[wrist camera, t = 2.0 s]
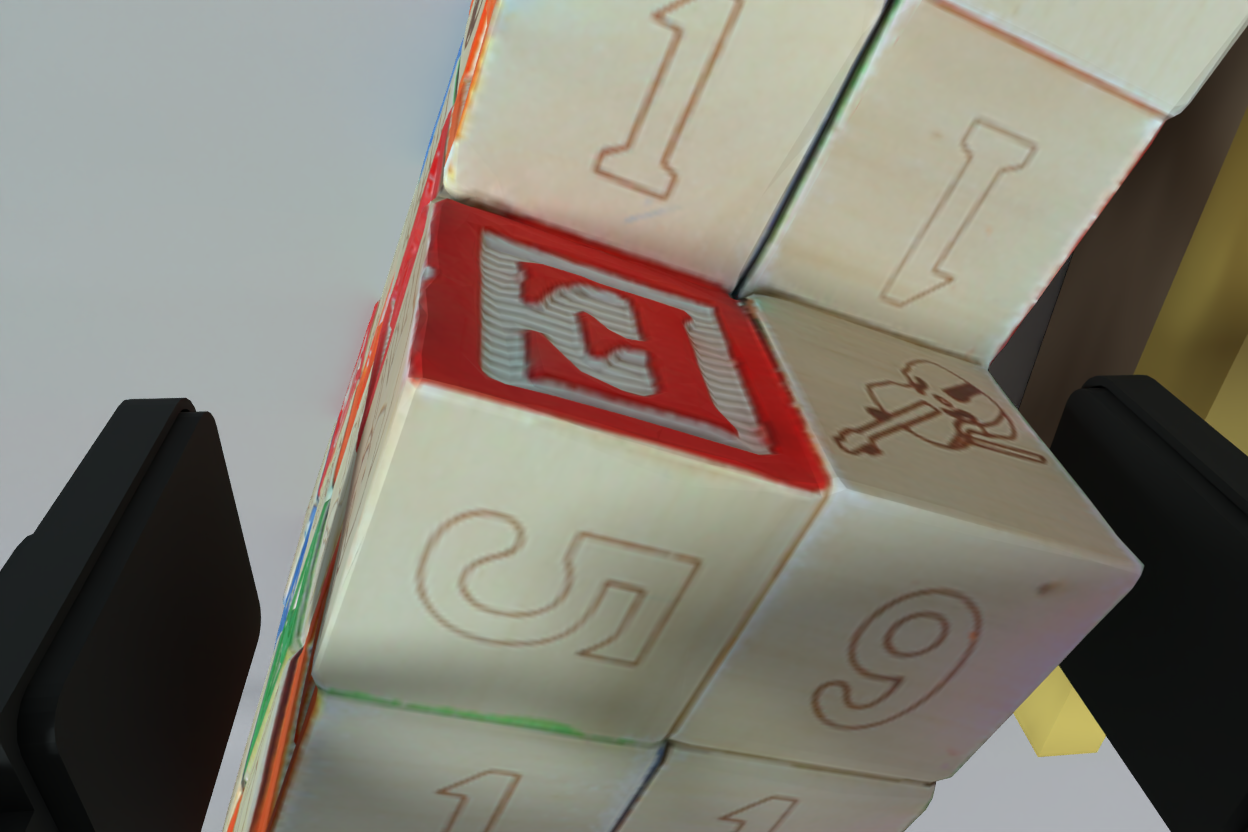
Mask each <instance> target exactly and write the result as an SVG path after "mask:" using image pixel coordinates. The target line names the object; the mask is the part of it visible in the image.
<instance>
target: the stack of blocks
mask: <svg viewBox="0 0 1248 832" xmlns="http://www.w3.org/2000/svg"><path fill="white" fill-rule="evenodd" d="M1247 26H1248V0H472V2H471V7H470V11H469V18H468V21H467V25H466V30H465V34H464V38H463V41H462V44H461V47H460V50H459V53H458V56H457V59H456V62H455V65H454V68H453V72H452V75H451V78H450V81H449V84H448V88H447V91H446V94H445V97H444V100H443V103H442V106H441V109H440V112H439V115H438V118H437V121H436V124H435V127H434V130H433V133H432V136H431V139H430V143H429V146H428V149H427V152H426V156H425V159H424V163H423V167H422V170H421V174H420V177H419V180H418V183H417V187H416V190H415V193H414V196H413V199H412V202H411V205H410V208H409V211H408V215H407V218H406V221H405V224H404V227H403V230H402V233H401V236H400V239H399V243H398V246H397V249H396V252H395V255H394V258H393V261H392V264H391V268H390V271H389V274H388V277H387V280H386V283H385V286H384V290H383V293H382V297H381V299H380V300H379V301H378V302H377V303H376V305H375V307H374V310H373V314H372V317H371V319H370V322H369V325H368V328H367V331H366V334H365V337H364V340H363V344H362V347H361V350H360V353H359V356H358V359H357V362H356V365H355V368H354V371H353V374H352V377H351V380H350V384H349V387H348V390H347V393H346V396H345V399H344V402H343V405H342V409H341V412H340V414H339V417H338V419H337V421H336V423H335V425H334V428H333V431H332V434H331V437H330V440H329V443H328V446H327V449H326V453H325V456H324V459H323V462H322V465H321V468H320V471H319V474H318V477H317V480H316V483H315V487H314V490H313V493H312V496H311V499H310V502H309V505H308V508H307V512H306V515H305V519H304V523H303V527H302V531H301V534H300V538H299V542H298V546H297V549H296V553H295V556H294V560H293V563H292V567H291V570H290V574H289V578H288V581H287V585H286V588H285V592H284V596H283V604H284V605H285V607H284V610H283V614H282V618H281V622H280V626H279V630H278V634H277V639H276V643H275V648H274V652H273V656H272V660H271V663H270V666H269V670H268V673H267V676H266V680H265V683H264V686H263V690H262V693H261V697H260V700H259V703H258V707H257V710H256V713H255V717H254V720H253V723H252V727H251V730H250V733H249V736H248V739H247V743H246V747H245V750H244V754H243V757H242V761H241V764H240V768H239V771H238V775H237V779H236V782H235V786H234V789H233V793H232V796H231V800H230V803H229V807H228V811H227V815H226V819H225V823H224V827H223V830H222V832H904V831H905V830H906V829H907V828H908V827H909V826H910V825H911V824H912V823H913V822H914V821H915V820H916V819H917V818H918V817H919V816H920V815H921V814H922V813H923V812H924V811H925V810H926V808H927V807H928V805H929V803H930V802H931V800H932V798H933V794H934V790H935V785H936V781H939V780H943V779H947V778H951V777H952V776H953V775H954V774H955V773H956V772H957V771H958V770H959V769H960V768H961V767H962V766H963V765H964V764H965V763H966V762H967V761H968V759H969V758H970V757H971V756H972V755H973V754H974V753H975V752H976V751H977V750H978V749H979V748H980V747H981V746H982V745H983V744H984V743H985V742H986V741H987V740H988V739H989V738H990V737H991V736H992V735H993V733H994V732H995V731H996V730H997V729H998V728H999V727H1000V726H1001V725H1002V724H1003V723H1004V722H1005V721H1006V720H1007V719H1008V718H1009V717H1010V716H1011V715H1012V714H1013V712H1014V711H1015V710H1016V709H1017V708H1018V707H1019V706H1020V705H1021V704H1022V703H1023V702H1024V701H1025V700H1026V699H1027V698H1028V697H1029V696H1030V695H1031V693H1032V692H1033V691H1034V690H1035V689H1036V688H1037V687H1038V686H1039V685H1040V684H1041V683H1042V682H1043V681H1044V680H1045V679H1046V678H1047V677H1048V676H1049V675H1050V673H1051V672H1052V671H1053V670H1054V669H1055V668H1056V667H1057V666H1058V665H1059V664H1060V663H1061V662H1062V661H1063V660H1064V659H1065V658H1066V657H1067V656H1068V654H1069V653H1070V652H1071V651H1072V650H1073V649H1074V648H1075V647H1076V646H1077V645H1078V644H1079V643H1080V642H1081V641H1082V640H1083V639H1084V637H1085V636H1086V635H1087V634H1088V633H1089V632H1090V631H1091V630H1092V629H1093V628H1094V627H1095V626H1096V625H1097V624H1098V623H1099V622H1100V621H1101V620H1102V619H1103V618H1104V617H1105V616H1106V615H1107V614H1108V613H1109V612H1110V611H1111V610H1112V609H1113V608H1114V607H1115V606H1116V605H1117V604H1118V603H1119V602H1120V601H1121V600H1122V599H1123V598H1124V597H1125V596H1126V594H1127V593H1128V592H1129V591H1130V590H1131V589H1132V588H1133V587H1134V585H1135V584H1136V582H1137V581H1138V579H1139V578H1140V576H1141V574H1142V571H1143V568H1144V564H1143V563H1142V562H1141V561H1140V560H1139V559H1138V558H1137V557H1136V556H1135V555H1134V554H1133V553H1132V551H1131V550H1130V549H1129V548H1128V547H1127V546H1126V545H1125V544H1124V543H1123V542H1122V541H1121V540H1120V539H1119V537H1118V536H1117V535H1116V534H1115V532H1114V531H1113V530H1112V528H1111V527H1110V526H1109V525H1108V523H1107V522H1106V521H1105V519H1104V518H1103V517H1102V515H1101V514H1100V513H1099V511H1098V510H1097V509H1096V507H1095V506H1094V505H1093V504H1092V502H1091V501H1090V500H1089V498H1088V497H1087V496H1086V494H1085V493H1084V492H1083V491H1082V489H1081V488H1080V487H1079V486H1078V484H1077V483H1076V482H1075V481H1074V479H1073V478H1072V477H1071V476H1070V474H1069V473H1068V472H1067V471H1066V469H1065V468H1064V467H1063V466H1062V464H1061V463H1060V462H1059V461H1058V459H1057V458H1056V457H1055V456H1054V455H1053V453H1052V452H1051V451H1050V450H1049V448H1048V447H1047V446H1046V445H1045V443H1044V442H1043V441H1042V440H1041V438H1040V437H1039V436H1038V435H1037V433H1036V432H1035V431H1034V430H1033V428H1032V427H1031V426H1030V425H1029V423H1028V422H1027V421H1026V420H1025V418H1024V417H1023V416H1022V415H1021V413H1020V412H1019V411H1018V410H1017V408H1016V407H1015V406H1014V405H1013V403H1012V402H1011V401H1010V399H1009V398H1008V397H1007V396H1006V394H1005V393H1004V392H1003V390H1002V389H1001V388H1000V386H999V385H998V384H997V382H996V381H995V380H994V378H993V377H992V376H991V374H990V373H989V372H988V368H989V366H990V365H991V363H992V362H993V360H994V359H995V357H996V356H997V355H998V354H999V353H1000V351H1001V350H1002V349H1003V348H1004V347H1005V345H1006V344H1007V343H1008V341H1009V340H1010V338H1011V337H1012V335H1013V334H1014V332H1015V331H1016V330H1017V328H1018V327H1019V325H1020V324H1021V323H1022V321H1023V320H1024V319H1025V317H1026V316H1027V314H1028V313H1029V312H1030V310H1031V309H1032V308H1033V306H1034V305H1035V303H1036V302H1037V301H1038V299H1039V298H1040V296H1041V295H1042V294H1043V292H1044V291H1045V289H1046V288H1047V287H1048V285H1049V284H1050V283H1051V281H1052V280H1053V278H1054V277H1055V276H1056V274H1057V273H1058V272H1059V270H1060V269H1061V267H1062V266H1063V265H1064V263H1065V262H1066V260H1067V259H1068V258H1069V256H1070V255H1071V254H1072V252H1073V251H1074V249H1075V248H1076V247H1077V245H1078V244H1079V243H1080V241H1081V240H1082V238H1083V237H1084V236H1085V234H1086V233H1087V232H1088V230H1089V229H1090V227H1091V226H1092V225H1093V223H1094V222H1095V221H1096V219H1097V218H1098V216H1099V215H1100V214H1101V212H1102V211H1103V210H1104V208H1105V207H1106V206H1107V204H1108V203H1109V201H1110V200H1111V199H1112V197H1113V196H1114V195H1115V193H1116V192H1117V190H1118V189H1119V188H1120V186H1121V185H1122V184H1123V182H1124V181H1125V180H1126V178H1127V177H1128V175H1129V174H1130V173H1131V171H1132V170H1133V169H1134V167H1135V166H1136V165H1137V163H1138V162H1139V160H1140V159H1141V158H1142V156H1143V155H1144V154H1145V152H1146V151H1147V150H1148V148H1149V147H1150V145H1151V144H1152V142H1153V141H1154V139H1155V138H1156V136H1157V134H1158V133H1159V131H1160V130H1161V128H1162V126H1163V125H1164V123H1165V121H1166V120H1168V119H1170V118H1172V117H1174V116H1176V115H1178V114H1180V113H1181V112H1182V111H1183V110H1184V109H1185V108H1186V107H1187V106H1188V105H1189V104H1190V103H1191V101H1192V100H1193V99H1194V97H1195V96H1196V95H1197V93H1198V92H1199V90H1200V89H1201V88H1202V86H1203V85H1204V84H1205V82H1206V81H1207V80H1208V78H1209V77H1210V76H1211V74H1212V73H1213V72H1214V70H1215V69H1216V67H1217V66H1218V65H1219V63H1220V62H1221V61H1222V59H1223V58H1224V57H1225V55H1226V54H1227V53H1228V51H1229V50H1230V49H1231V47H1232V46H1233V45H1234V43H1235V42H1236V40H1237V39H1238V38H1239V36H1240V35H1241V34H1242V32H1243V31H1244V30H1245V28H1246V27H1247Z"/></svg>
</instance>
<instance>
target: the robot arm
mask: <svg viewBox="0 0 1248 832" xmlns="http://www.w3.org/2000/svg"><path fill="white" fill-rule="evenodd" d="M1049 450H1050V451H1051V452H1052V453H1053V455H1054V456H1055V457H1056V458H1057V459H1058V461H1059V462H1060V463H1061V464H1062V466H1063V467H1064V468H1065V469H1066V471H1067V472H1068V473H1069V474H1070V476H1071V477H1072V478H1073V479H1074V481H1075V482H1076V483H1077V484H1078V486H1079V487H1080V488H1081V489H1082V491H1083V492H1084V493H1085V494H1086V496H1087V497H1088V498H1089V500H1090V501H1091V502H1092V504H1093V505H1094V506H1095V507H1096V509H1097V510H1098V511H1099V513H1100V514H1101V515H1102V517H1103V518H1104V519H1105V521H1106V522H1107V523H1108V525H1109V526H1110V527H1111V528H1112V530H1113V531H1114V532H1115V534H1116V535H1117V536H1118V537H1119V539H1120V540H1121V541H1122V542H1123V543H1124V544H1125V545H1126V546H1127V547H1128V548H1129V549H1130V550H1131V551H1132V553H1133V554H1134V555H1135V556H1136V557H1137V558H1138V559H1139V560H1140V561H1141V562H1142V563H1143V564H1144V568H1143V571H1142V574H1141V576H1140V578H1139V579H1138V581H1137V582H1136V584H1135V585H1134V587H1133V588H1132V589H1131V590H1130V591H1129V592H1128V593H1127V594H1126V596H1125V597H1124V598H1123V599H1122V600H1121V601H1120V602H1119V603H1118V604H1117V605H1116V606H1115V607H1114V608H1113V609H1112V610H1111V611H1110V612H1109V613H1108V614H1107V615H1106V616H1105V617H1104V618H1103V619H1102V620H1101V621H1100V622H1099V623H1098V624H1097V625H1096V626H1095V627H1094V628H1093V629H1092V630H1091V631H1090V632H1089V633H1088V634H1087V635H1086V636H1085V637H1084V639H1083V640H1082V641H1081V642H1080V643H1079V644H1078V645H1077V646H1076V647H1075V648H1074V649H1073V650H1072V651H1071V652H1070V653H1069V654H1068V656H1067V657H1066V658H1065V659H1064V660H1063V661H1062V662H1061V663H1060V664H1059V667H1060V668H1061V670H1062V671H1063V673H1064V674H1065V676H1066V677H1067V679H1068V680H1069V682H1070V683H1071V685H1072V686H1073V688H1074V689H1075V691H1076V692H1077V693H1078V695H1079V696H1080V698H1081V699H1082V701H1083V702H1084V704H1085V705H1086V707H1087V708H1088V710H1089V711H1090V713H1091V714H1092V716H1093V717H1094V719H1095V720H1096V722H1097V723H1098V725H1099V726H1100V728H1101V729H1102V730H1103V732H1104V733H1105V735H1106V736H1107V738H1108V739H1109V741H1110V742H1111V744H1112V745H1113V747H1114V748H1115V750H1116V751H1117V753H1118V754H1119V756H1120V757H1121V759H1122V760H1123V762H1124V763H1125V764H1126V766H1127V767H1128V769H1129V770H1130V772H1131V773H1132V775H1133V776H1134V778H1135V779H1136V781H1137V782H1138V784H1139V785H1140V787H1141V788H1142V790H1143V791H1144V793H1145V794H1146V796H1147V797H1148V799H1149V800H1150V801H1151V803H1152V804H1153V806H1154V807H1155V809H1156V810H1157V812H1158V813H1159V815H1160V816H1161V818H1162V819H1163V821H1164V822H1165V824H1166V825H1167V827H1168V828H1169V830H1170V831H1171V832H1248V456H1247V455H1246V454H1244V453H1243V452H1242V451H1241V450H1240V449H1238V448H1237V447H1236V446H1235V445H1234V444H1232V443H1231V442H1230V441H1229V440H1228V439H1226V438H1225V437H1224V436H1223V435H1221V434H1220V433H1219V432H1218V431H1217V430H1215V429H1214V428H1213V427H1212V426H1211V425H1209V424H1208V423H1207V422H1206V421H1205V420H1203V419H1202V418H1201V417H1200V416H1198V415H1197V414H1196V413H1195V412H1194V411H1192V410H1191V409H1190V408H1189V407H1188V406H1186V405H1185V404H1184V403H1183V402H1182V401H1180V400H1179V399H1178V398H1177V397H1175V396H1174V395H1173V394H1172V393H1171V392H1169V391H1168V390H1167V389H1166V388H1165V387H1163V386H1162V385H1161V384H1160V383H1159V382H1157V381H1156V380H1155V379H1153V378H1151V377H1149V376H1148V375H1102V376H1094V377H1092V378H1089V379H1088V380H1087V381H1086V382H1085V383H1084V384H1083V385H1082V387H1081V389H1077V390H1075V391H1074V392H1073V393H1072V394H1071V395H1070V396H1069V398H1068V400H1067V402H1066V405H1065V408H1064V411H1063V413H1062V416H1061V419H1060V422H1059V424H1058V427H1057V430H1056V433H1055V436H1054V438H1053V441H1052V444H1051V447H1050V449H1049ZM260 626H261V610H260V603H259V599H258V595H257V591H256V586H255V582H254V578H253V574H252V570H251V566H250V562H249V558H248V553H247V549H246V545H245V541H244V537H243V533H242V529H241V525H240V521H239V516H238V512H237V508H236V504H235V500H234V496H233V492H232V488H231V483H230V479H229V475H228V471H227V467H226V463H225V459H224V455H223V451H222V446H221V442H220V438H219V434H218V430H217V426H216V423H215V420H214V418H213V416H212V414H211V413H209V412H208V411H207V412H196V410H195V407H194V406H193V404H192V402H191V401H190V400H188V399H187V398H161V399H129V400H124V401H123V402H122V403H121V404H120V405H119V406H118V408H117V409H116V411H115V412H114V414H113V415H112V417H111V418H110V420H109V421H108V423H107V424H106V426H105V427H104V429H103V430H102V432H101V433H100V435H99V436H98V438H97V439H96V441H95V442H94V444H93V445H92V447H91V448H90V450H89V451H88V453H87V454H86V456H85V457H84V459H83V460H82V462H81V463H80V465H79V466H78V468H77V469H76V471H75V472H74V474H73V475H72V477H71V478H70V480H69V481H68V483H67V484H66V486H65V487H64V489H63V490H62V492H61V493H60V495H59V496H58V498H57V499H56V501H55V502H54V504H53V505H52V507H51V508H50V510H49V511H48V513H47V514H46V515H45V517H44V518H43V520H42V521H41V523H40V524H39V526H38V527H37V529H36V530H35V532H34V533H33V534H32V535H29V536H27V537H26V538H25V539H24V540H23V541H22V542H21V543H20V544H19V545H18V546H17V548H16V549H15V550H14V552H13V553H12V555H11V556H10V558H9V559H8V561H7V562H6V564H5V565H4V566H3V568H2V569H1V571H0V832H201V829H202V826H203V822H204V819H205V816H206V812H207V809H208V806H209V802H210V799H211V796H212V792H213V789H214V786H215V782H216V779H217V776H218V772H219V769H220V766H221V762H222V759H223V756H224V752H225V749H226V746H227V742H228V739H229V736H230V732H231V729H232V726H233V722H234V719H235V716H236V712H237V709H238V706H239V702H240V699H241V696H242V692H243V689H244V686H245V682H246V679H247V676H248V672H249V669H250V666H251V662H252V659H253V656H254V652H255V649H256V646H257V642H258V639H259V634H260Z"/></svg>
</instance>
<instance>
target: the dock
mask: <svg viewBox="0 0 1248 832" xmlns="http://www.w3.org/2000/svg"><path fill="white" fill-rule="evenodd" d="M1102 375H1148V376H1149V377H1151V378H1153V379H1155V380H1156V381H1157V382H1159V383H1160V384H1161V385H1162V386H1163V387H1165V388H1166V389H1167V390H1168V391H1169V392H1171V393H1172V394H1173V395H1174V396H1175V397H1177V398H1178V399H1179V400H1180V401H1182V402H1183V403H1184V404H1185V405H1186V406H1188V407H1189V408H1190V409H1191V410H1192V411H1194V412H1195V413H1196V414H1197V415H1198V416H1200V417H1201V418H1202V419H1203V420H1205V421H1206V422H1207V423H1208V424H1209V425H1211V426H1212V427H1213V428H1214V429H1215V430H1217V431H1218V432H1219V433H1220V434H1221V435H1223V436H1224V437H1225V438H1226V439H1228V440H1229V441H1230V442H1231V443H1232V444H1234V445H1235V446H1236V447H1237V448H1238V449H1240V450H1241V451H1242V452H1243V453H1244V454H1246V455H1247V456H1248V26H1247V27H1246V28H1245V30H1244V31H1243V32H1242V34H1241V35H1240V36H1239V38H1238V39H1237V40H1236V42H1235V43H1234V45H1233V46H1232V47H1231V49H1230V50H1229V51H1228V53H1227V54H1226V55H1225V57H1224V58H1223V59H1222V61H1221V62H1220V63H1219V65H1218V66H1217V67H1216V69H1215V70H1214V72H1213V73H1212V74H1211V76H1210V77H1209V78H1208V80H1207V81H1206V82H1205V84H1204V85H1203V86H1202V88H1201V89H1200V90H1199V92H1198V93H1197V95H1196V96H1195V97H1194V99H1193V100H1192V101H1191V103H1190V104H1189V105H1188V106H1187V107H1186V108H1185V109H1184V110H1183V111H1182V112H1181V113H1180V114H1178V115H1176V116H1174V117H1172V118H1170V119H1168V120H1166V121H1165V123H1164V125H1163V126H1162V128H1161V130H1160V131H1159V133H1158V134H1157V136H1156V138H1155V139H1154V141H1153V142H1152V144H1151V145H1150V147H1149V148H1148V150H1147V151H1146V152H1145V154H1144V155H1143V156H1142V158H1141V159H1140V160H1139V162H1138V163H1137V165H1136V166H1135V167H1134V169H1133V170H1132V171H1131V173H1130V174H1129V175H1128V177H1127V178H1126V180H1125V181H1124V182H1123V184H1122V185H1121V186H1120V188H1119V189H1118V190H1117V192H1116V193H1115V195H1114V196H1113V197H1112V199H1111V200H1110V201H1109V203H1108V204H1107V206H1106V207H1105V208H1104V210H1103V211H1102V212H1101V214H1100V215H1099V216H1098V218H1097V219H1096V221H1095V222H1094V223H1093V225H1092V226H1091V227H1090V229H1089V230H1088V232H1087V233H1086V234H1085V236H1084V237H1083V238H1082V240H1081V241H1080V243H1079V244H1078V245H1077V247H1076V248H1075V250H1074V253H1073V256H1072V259H1071V262H1070V265H1069V268H1068V270H1067V273H1066V276H1065V279H1064V282H1063V285H1062V287H1061V290H1060V293H1059V296H1058V299H1057V302H1056V305H1055V307H1054V310H1053V313H1052V316H1051V319H1050V322H1049V325H1048V327H1047V330H1046V333H1045V336H1044V339H1043V342H1042V344H1041V347H1040V350H1039V353H1038V356H1037V359H1036V362H1035V364H1034V367H1033V370H1032V373H1031V376H1030V379H1029V382H1028V384H1027V387H1026V390H1025V393H1024V396H1023V399H1022V401H1021V404H1020V407H1019V410H1018V411H1019V412H1020V413H1021V415H1022V416H1023V417H1024V418H1025V420H1026V421H1027V422H1028V423H1029V425H1030V426H1031V427H1032V428H1033V430H1034V431H1035V432H1036V433H1037V435H1038V436H1039V437H1040V438H1041V440H1042V441H1043V442H1044V443H1045V445H1046V446H1047V447H1048V448H1049V449H1050V447H1051V444H1052V441H1053V438H1054V436H1055V433H1056V430H1057V427H1058V424H1059V422H1060V419H1061V416H1062V413H1063V411H1064V408H1065V405H1066V402H1067V400H1068V398H1069V396H1070V395H1071V394H1072V393H1073V392H1074V391H1075V390H1077V389H1081V387H1082V385H1083V384H1084V383H1085V382H1086V381H1087V380H1088V379H1089V378H1092V377H1094V376H1102ZM1013 713H1014V715H1015V717H1016V719H1017V721H1018V722H1019V724H1020V726H1021V728H1022V729H1023V731H1024V733H1025V735H1026V736H1027V738H1028V740H1029V742H1030V744H1031V745H1032V747H1033V749H1034V751H1035V752H1036V754H1037V756H1038V757H1045V756H1057V755H1070V754H1083V753H1096V752H1097V751H1098V749H1099V748H1100V746H1101V744H1102V742H1103V740H1104V739H1105V737H1106V735H1105V733H1104V732H1103V730H1102V729H1101V728H1100V726H1099V725H1098V723H1097V722H1096V720H1095V719H1094V717H1093V716H1092V714H1091V713H1090V711H1089V710H1088V708H1087V707H1086V705H1085V704H1084V702H1083V701H1082V699H1081V698H1080V696H1079V695H1078V693H1077V692H1076V691H1075V689H1074V688H1073V686H1072V685H1071V683H1070V682H1069V680H1068V679H1067V677H1066V676H1065V674H1064V673H1063V671H1062V670H1061V668H1060V667H1059V665H1058V666H1057V667H1056V668H1055V669H1054V670H1053V671H1052V672H1051V673H1050V675H1049V676H1048V677H1047V678H1046V679H1045V680H1044V681H1043V682H1042V683H1041V684H1040V685H1039V686H1038V687H1037V688H1036V689H1035V690H1034V691H1033V692H1032V693H1031V695H1030V696H1029V697H1028V698H1027V699H1026V700H1025V701H1024V702H1023V703H1022V704H1021V705H1020V706H1019V707H1018V708H1017V709H1016V710H1015V711H1014V712H1013Z"/></svg>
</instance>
